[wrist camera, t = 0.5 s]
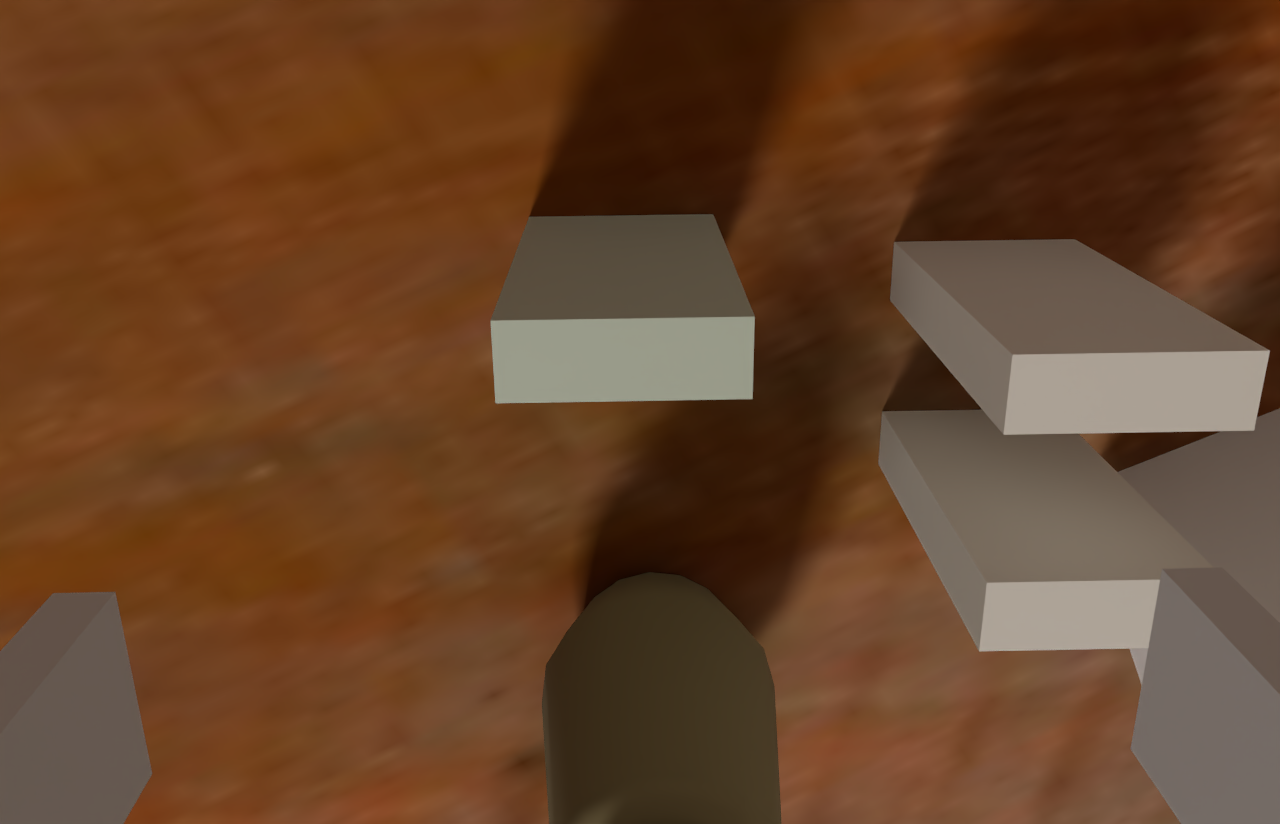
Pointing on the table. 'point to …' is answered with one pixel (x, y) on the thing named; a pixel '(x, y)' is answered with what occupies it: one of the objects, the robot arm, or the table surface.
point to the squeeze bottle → (660, 712)
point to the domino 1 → (622, 313)
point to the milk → (1223, 505)
